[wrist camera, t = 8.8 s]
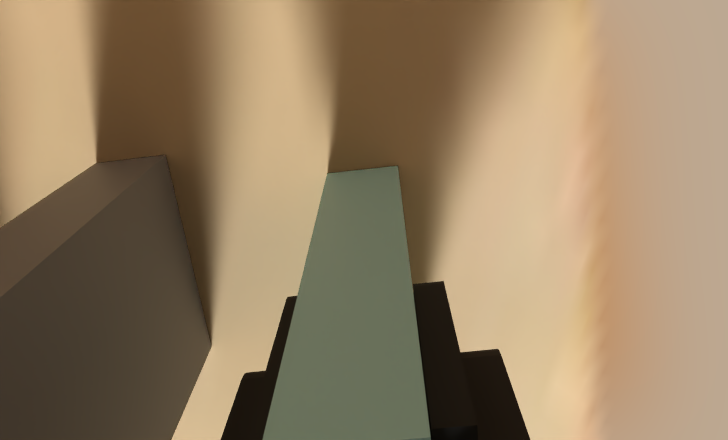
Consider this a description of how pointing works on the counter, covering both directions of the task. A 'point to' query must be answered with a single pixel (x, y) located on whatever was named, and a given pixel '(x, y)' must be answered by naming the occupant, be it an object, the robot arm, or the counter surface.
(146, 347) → the domino
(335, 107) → the counter surface
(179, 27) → the counter surface
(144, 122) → the counter surface
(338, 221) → the teal domino
